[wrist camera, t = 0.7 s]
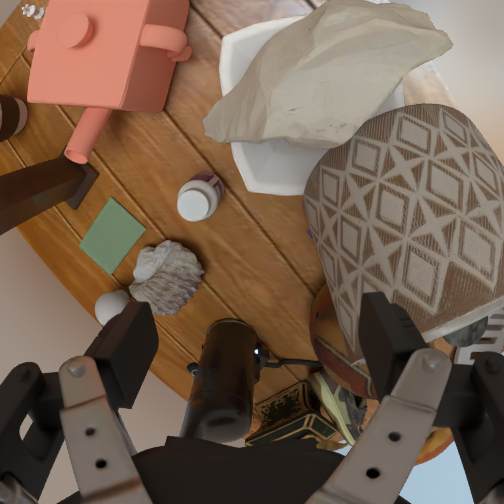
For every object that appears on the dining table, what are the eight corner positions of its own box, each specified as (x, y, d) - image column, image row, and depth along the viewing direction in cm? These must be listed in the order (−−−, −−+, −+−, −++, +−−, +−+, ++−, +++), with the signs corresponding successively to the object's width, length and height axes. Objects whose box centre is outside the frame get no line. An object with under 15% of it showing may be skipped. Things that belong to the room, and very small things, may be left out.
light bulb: (132, 308, 57) (111, 341, 48) (108, 288, 56) (83, 318, 46) (148, 289, 55) (127, 321, 46) (122, 268, 54) (97, 296, 44)
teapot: (182, 165, 46) (136, 191, 30) (59, 145, 45) (-14, 163, 29) (220, 7, 36) (193, -47, 20) (89, 4, 36) (23, -25, 19)
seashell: (172, 220, 47) (172, 279, 41) (215, 246, 53) (221, 301, 48) (118, 262, 53) (114, 315, 47) (159, 281, 60) (159, 331, 54)
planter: (317, 84, 19) (431, 326, 12) (494, 101, 22) (587, 252, 15) (284, 230, 37) (324, 376, 29) (421, 210, 39) (468, 325, 32)
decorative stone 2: (476, 337, 52) (433, 344, 54) (475, 287, 52) (431, 294, 55) (495, 348, 42) (446, 357, 45) (496, 291, 43) (446, 298, 46)
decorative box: (273, 427, 68) (272, 499, 50) (245, 407, 65) (238, 484, 47) (347, 389, 62) (363, 466, 44) (322, 365, 59) (334, 448, 41)
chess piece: (72, 6, 36) (38, -7, 26) (63, 32, 38) (27, 22, 28) (52, 7, 35) (18, -5, 26) (43, 32, 37) (8, 24, 28)
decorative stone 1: (358, -26, 21) (447, -37, 10) (400, 43, 27) (494, 78, 15) (176, 92, 29) (146, 150, 18) (231, 151, 34) (238, 237, 23)
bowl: (249, 181, 47) (240, 206, 34) (228, 52, 39) (210, 26, 27) (374, 167, 45) (411, 187, 32) (357, 40, 37) (389, 14, 24)
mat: (147, 228, 51) (146, 229, 50) (111, 274, 54) (110, 275, 54) (111, 196, 49) (110, 196, 48) (79, 245, 52) (78, 246, 52)
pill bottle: (182, 193, 48) (163, 211, 39) (201, 164, 46) (184, 175, 37) (212, 213, 49) (199, 235, 40) (231, 184, 47) (222, 200, 38)
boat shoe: (356, 457, 58) (388, 438, 58) (315, 402, 50) (357, 377, 50) (342, 430, 67) (371, 412, 67) (300, 371, 58) (337, 348, 58)
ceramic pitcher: (337, 364, 59) (364, 501, 32) (283, 289, 53) (290, 447, 26) (426, 314, 54) (498, 437, 26) (387, 227, 48) (489, 347, 20)
